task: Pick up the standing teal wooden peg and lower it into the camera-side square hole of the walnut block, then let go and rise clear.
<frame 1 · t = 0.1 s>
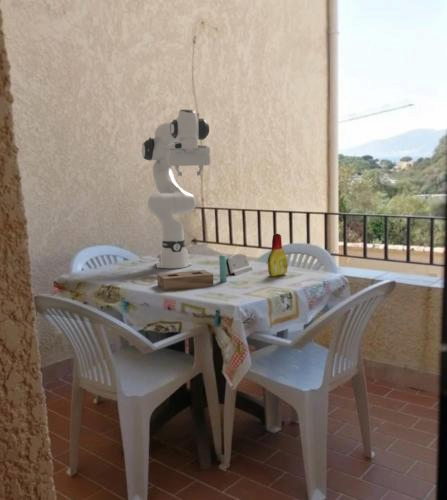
hand: (189, 175, 239), 48 cm above the table, tool pointing down, fingers open, 8 cm apart
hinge: (237, 272, 256), on the table
hole block: (185, 285, 227), on the table
peg: (223, 281, 234), on the table
bottle: (277, 275, 245), on the table
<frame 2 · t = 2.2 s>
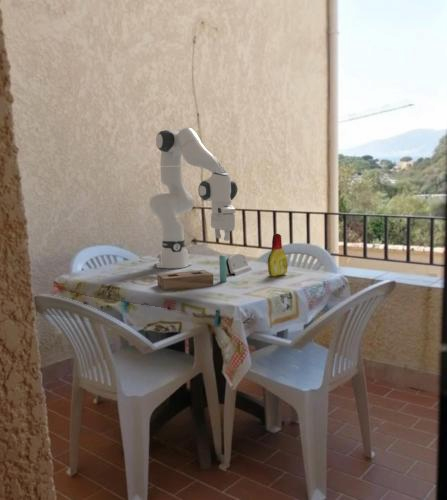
hand: (222, 239, 231), 19 cm above the table, tool pointing down, fingers open, 8 cm apart
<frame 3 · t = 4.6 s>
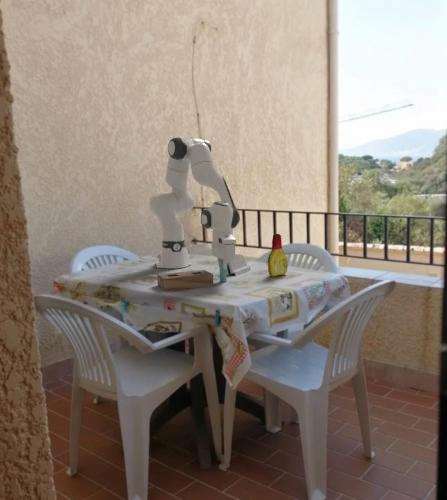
hand: (222, 268, 233), 6 cm above the table, tool pointing down, fingers closed on peg, 3 cm apart
peg: (223, 281, 234), on the table, touching gripper
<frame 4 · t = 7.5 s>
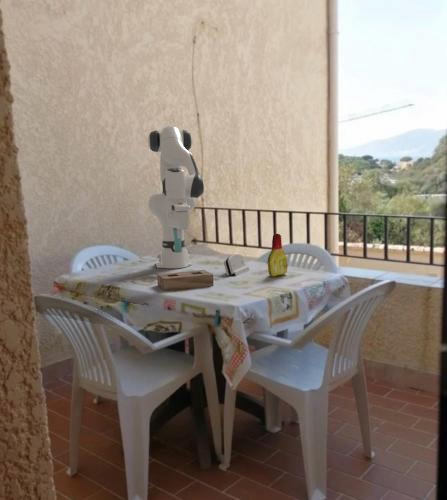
hand: (177, 238, 223), 21 cm above the table, tool pointing down, fingers closed on peg, 3 cm apart
peg: (178, 252, 224), point 15 cm above the table, touching gripper
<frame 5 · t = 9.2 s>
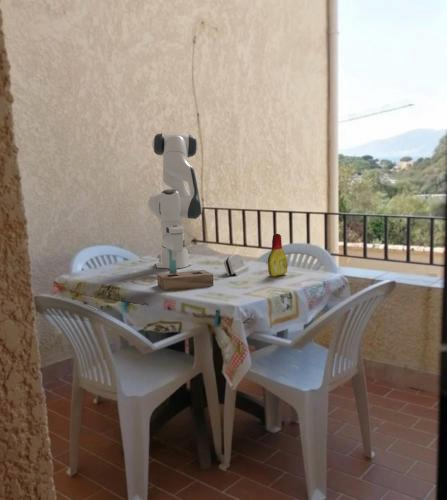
hand: (172, 259, 223), 12 cm above the table, tool pointing down, fingers closed on peg, 3 cm apart
peg: (173, 273, 224), point 6 cm above the table, touching gripper
when the fingers open (8 cm above the table, at t = 10.7 s): peg drops 1 cm, resting in hole block.
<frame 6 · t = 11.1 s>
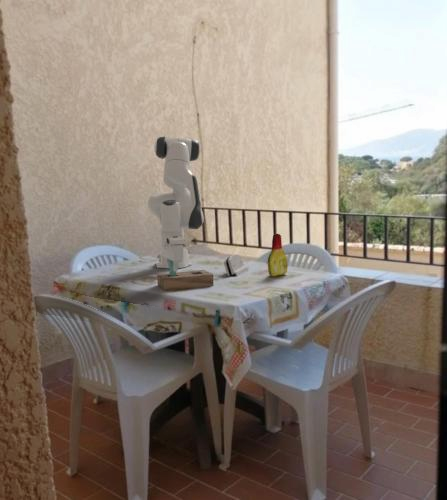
hand: (172, 269, 224), 8 cm above the table, tool pointing down, fingers open, 7 cm apart
peg: (173, 286, 225), resting in hole block
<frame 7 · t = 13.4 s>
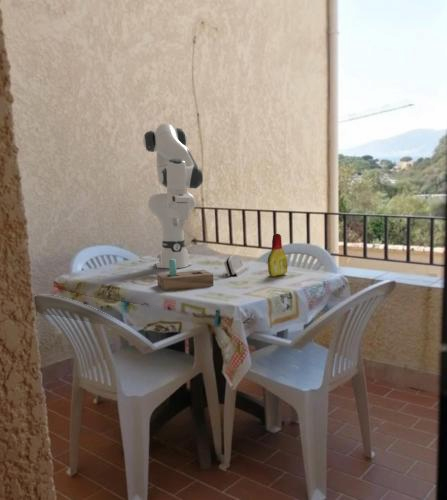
hand: (178, 228, 227), 25 cm above the table, tool pointing down, fingers open, 8 cm apart
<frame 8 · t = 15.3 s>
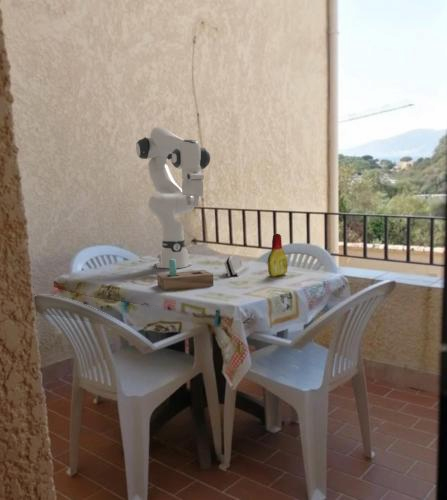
hand: (192, 205, 238), 34 cm above the table, tool pointing down, fingers open, 8 cm apart
at the end: peg 0.1 cm from the target spot on the hole block, point 0.0 cm above the hole block's base; peg tilted 0°; the gripper is holding nothing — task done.
